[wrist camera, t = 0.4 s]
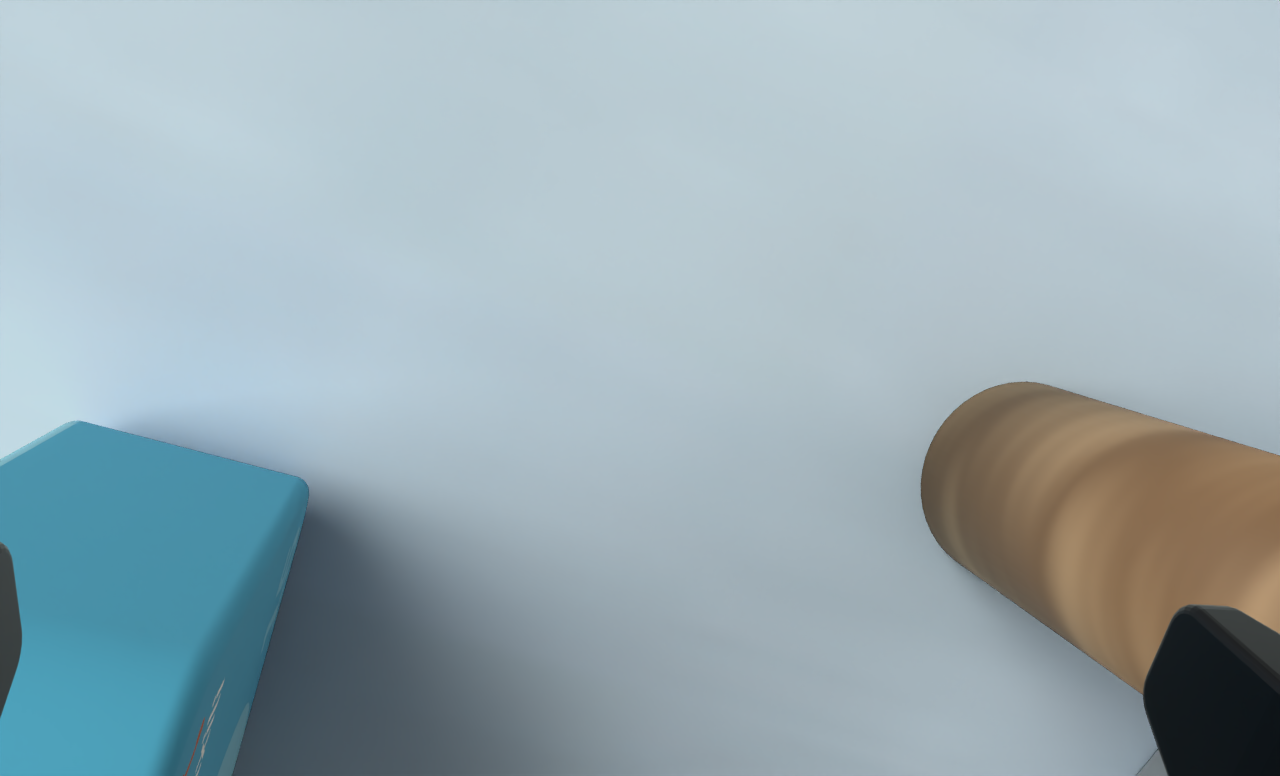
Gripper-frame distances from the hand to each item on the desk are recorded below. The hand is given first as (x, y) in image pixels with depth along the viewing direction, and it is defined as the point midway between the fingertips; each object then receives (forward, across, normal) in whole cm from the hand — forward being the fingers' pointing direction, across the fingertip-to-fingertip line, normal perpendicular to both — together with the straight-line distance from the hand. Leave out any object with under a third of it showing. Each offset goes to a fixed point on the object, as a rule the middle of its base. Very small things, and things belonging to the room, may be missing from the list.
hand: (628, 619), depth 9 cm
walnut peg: (+14, -11, +7) cm, 19 cm away
